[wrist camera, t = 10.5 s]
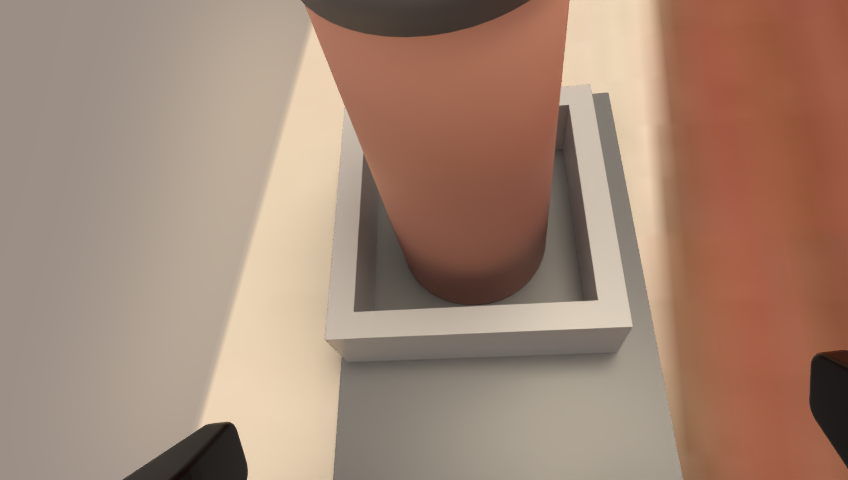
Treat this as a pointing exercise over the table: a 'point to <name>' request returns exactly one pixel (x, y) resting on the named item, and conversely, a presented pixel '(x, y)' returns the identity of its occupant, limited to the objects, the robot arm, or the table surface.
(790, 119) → the table surface
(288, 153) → the table surface
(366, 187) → the jig
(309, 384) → the table surface
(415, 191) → the banded pink rod
